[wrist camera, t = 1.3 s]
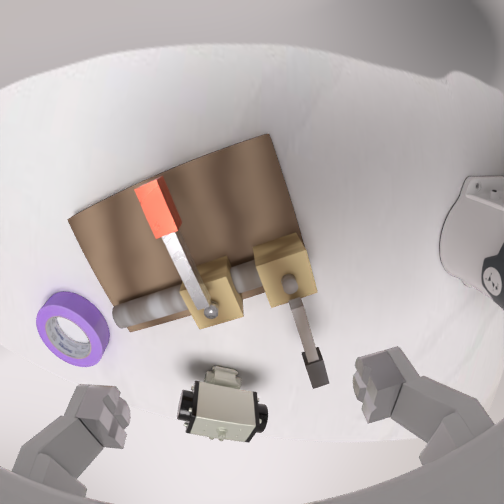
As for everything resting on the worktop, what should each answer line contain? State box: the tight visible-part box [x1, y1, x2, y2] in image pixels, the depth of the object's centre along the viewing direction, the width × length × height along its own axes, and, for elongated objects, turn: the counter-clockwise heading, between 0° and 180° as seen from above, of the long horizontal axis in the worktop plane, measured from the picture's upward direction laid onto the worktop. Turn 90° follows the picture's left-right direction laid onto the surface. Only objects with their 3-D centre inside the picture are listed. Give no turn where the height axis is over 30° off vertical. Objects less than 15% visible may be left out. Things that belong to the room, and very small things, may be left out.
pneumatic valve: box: [177, 366, 268, 442], centre depth 37 cm, size 6×12×12 cm, turn 71°
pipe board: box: [68, 134, 329, 389], centre depth 31 cm, size 25×27×10 cm
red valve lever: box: [134, 176, 219, 319], centre depth 25 cm, size 2×14×3 cm, turn 19°
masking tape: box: [36, 292, 110, 367], centre depth 36 cm, size 12×12×4 cm
